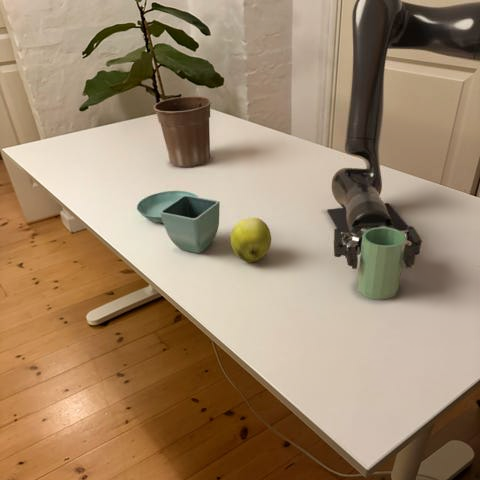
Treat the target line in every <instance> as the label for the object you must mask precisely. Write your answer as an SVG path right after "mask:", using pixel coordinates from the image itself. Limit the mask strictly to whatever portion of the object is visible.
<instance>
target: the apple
mask: <svg viewBox="0 0 480 480" xmlns="http://www.w3.org/2000/svg"><path fill="white" fill-rule="evenodd" d="M230 245H231V248H232V251H233V252H234V255H236V257H237V258H238V259H240V260H241V261H245V262H247V263H251V262H256V261H258V260H260V259H262V258H263V257H265V256H266V255H267V253H268V252H269V251H270V248H271V245H272V234H271V230H270V228H269V226H268V225H267V223H266V222H265V221H264V220H262V219H261V218H259V217H248V218H244V219H242V220H240V221H239V222H238V223H236V224H235V225H234V227H233V228H232V231H231V234H230Z"/></svg>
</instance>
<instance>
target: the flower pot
mask: <svg viewBox="0 0 480 480" xmlns="http://www.w3.org/2000/svg"><path fill="white" fill-rule="evenodd" d="M220 203H221V201H219V200H215V199H208V198H205V197H204V198H202V197H199V196H198V197H193V196H188V195H184V196H182V197H181V198H179V199H178V200H177V201H175V202H174V203H172V204H171V205H169V206H168V207H166V208H165V209H163V210H162V211H161V212H160V214H161V217H162V220H163V223H162V224H163V226H164V229H165V231H166V234H167V235H168V238H169V239H170V241H171V242H172V243H173V245H175V246H176V247H177V248H178V249H179V250H183V251H187V252H191V253H194V254H201V253H202V252H203V251H205V250H206V248H208V247H209V246H210V245H211V244H212V243H213V241H214V240H215V238H216V236H217V233H218V232H219V231H218V230H219V226H220V208H221V207H220Z"/></svg>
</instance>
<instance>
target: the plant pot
mask: <svg viewBox="0 0 480 480" xmlns="http://www.w3.org/2000/svg"><path fill="white" fill-rule="evenodd" d="M211 105H212V99H210V98H209V97H206V96H197V95H196V96H194V95H193V96H191V95H190V96H177V97H172V98H167V99H164V100H160V101H159V102H158V103H155V104H154V105H153V110H154V111H155V113H156V117H157V121H158V123H159V124H160V128H161V131H162V135H163V140H164V143H165V146H166V150H167V151H166V152H167V154H168V159H169V162H170V164H171V165H172V166H174V167H176V168H177V167H178V168H193V167H196V165H199V166H201V165H204V164H206V163H208V162H209V161H210V159H211V137H210V135H211V134H210V133H211V132H210V118H211Z"/></svg>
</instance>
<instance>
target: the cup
mask: <svg viewBox="0 0 480 480" xmlns="http://www.w3.org/2000/svg"><path fill="white" fill-rule="evenodd" d="M405 242H406V236H405V235H404V233H403V232H401V231H399V230H397V229H393V228H388V227H377V228H372V229H369V230H367V231H365V232H364V233H363V236H362V245H361V253H360V254H359V255H360V256H359V266H358V274H357V275H358V276H357V288H356V289H357V291H358V293H359V294H360V295H362V296H363V297H365V298H367V299H371V300H374V301H375V300H377V301H383V300H388V299H391V298H393V297H395V296H396V295H397V294H398V289H399V284H400V278H401V271H402V265H403V254H404V248H405Z"/></svg>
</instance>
